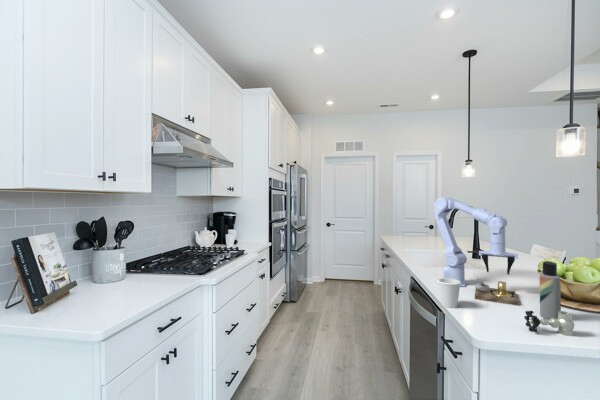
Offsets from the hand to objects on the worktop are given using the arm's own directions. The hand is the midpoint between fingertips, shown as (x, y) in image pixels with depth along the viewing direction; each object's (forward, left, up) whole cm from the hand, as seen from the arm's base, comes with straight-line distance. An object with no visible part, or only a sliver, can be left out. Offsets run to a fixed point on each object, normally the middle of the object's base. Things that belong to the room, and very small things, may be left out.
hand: (497, 272), depth 132 cm
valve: (+13, -38, -10) cm, 41 cm away
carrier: (-1, -6, -9) cm, 11 cm away
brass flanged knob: (+1, -5, -9) cm, 11 cm away
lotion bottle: (+15, -23, -10) cm, 29 cm away
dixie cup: (-17, -28, -10) cm, 34 cm away
